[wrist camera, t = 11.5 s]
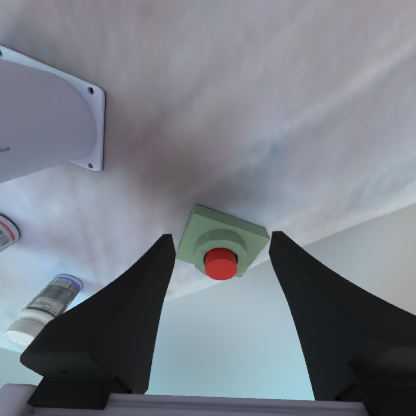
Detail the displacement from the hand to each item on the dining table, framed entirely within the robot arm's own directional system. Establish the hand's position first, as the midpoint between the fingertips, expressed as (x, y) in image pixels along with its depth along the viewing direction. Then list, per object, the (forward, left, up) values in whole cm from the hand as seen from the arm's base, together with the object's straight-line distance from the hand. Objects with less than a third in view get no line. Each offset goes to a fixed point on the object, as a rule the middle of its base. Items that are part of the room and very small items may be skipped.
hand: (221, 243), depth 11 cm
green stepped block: (+3, -6, -9) cm, 11 cm away
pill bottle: (-18, -26, -9) cm, 33 cm away
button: (+3, -6, -5) cm, 8 cm away
